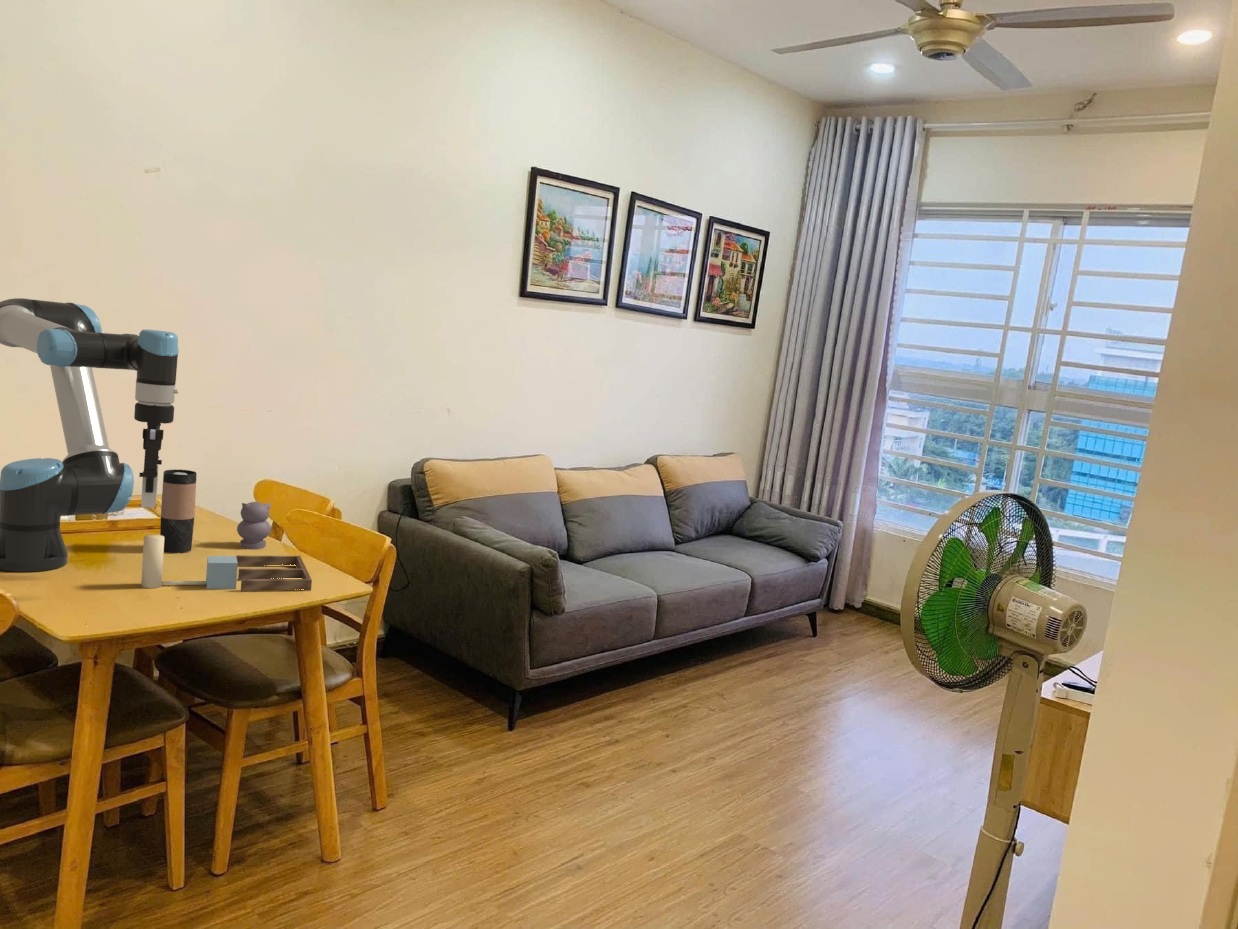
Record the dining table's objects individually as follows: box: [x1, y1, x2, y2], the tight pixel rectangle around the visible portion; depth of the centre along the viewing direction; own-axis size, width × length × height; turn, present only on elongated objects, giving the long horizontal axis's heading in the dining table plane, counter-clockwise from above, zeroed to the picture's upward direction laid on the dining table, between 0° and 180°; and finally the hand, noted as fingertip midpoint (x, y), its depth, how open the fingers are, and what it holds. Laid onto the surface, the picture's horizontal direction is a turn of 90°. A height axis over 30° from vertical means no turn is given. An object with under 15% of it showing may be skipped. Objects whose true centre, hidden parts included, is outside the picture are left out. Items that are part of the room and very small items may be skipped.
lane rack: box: [235, 554, 313, 592], centre depth 216 cm, size 15×22×2 cm
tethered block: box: [140, 534, 239, 590], centre depth 202 cm, size 19×6×11 cm, turn 116°
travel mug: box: [159, 469, 197, 554], centre depth 229 cm, size 8×8×20 cm
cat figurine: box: [236, 501, 273, 550], centre depth 242 cm, size 8×8×12 cm
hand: (149, 500), depth 197 cm, fingers open, 13 cm apart
